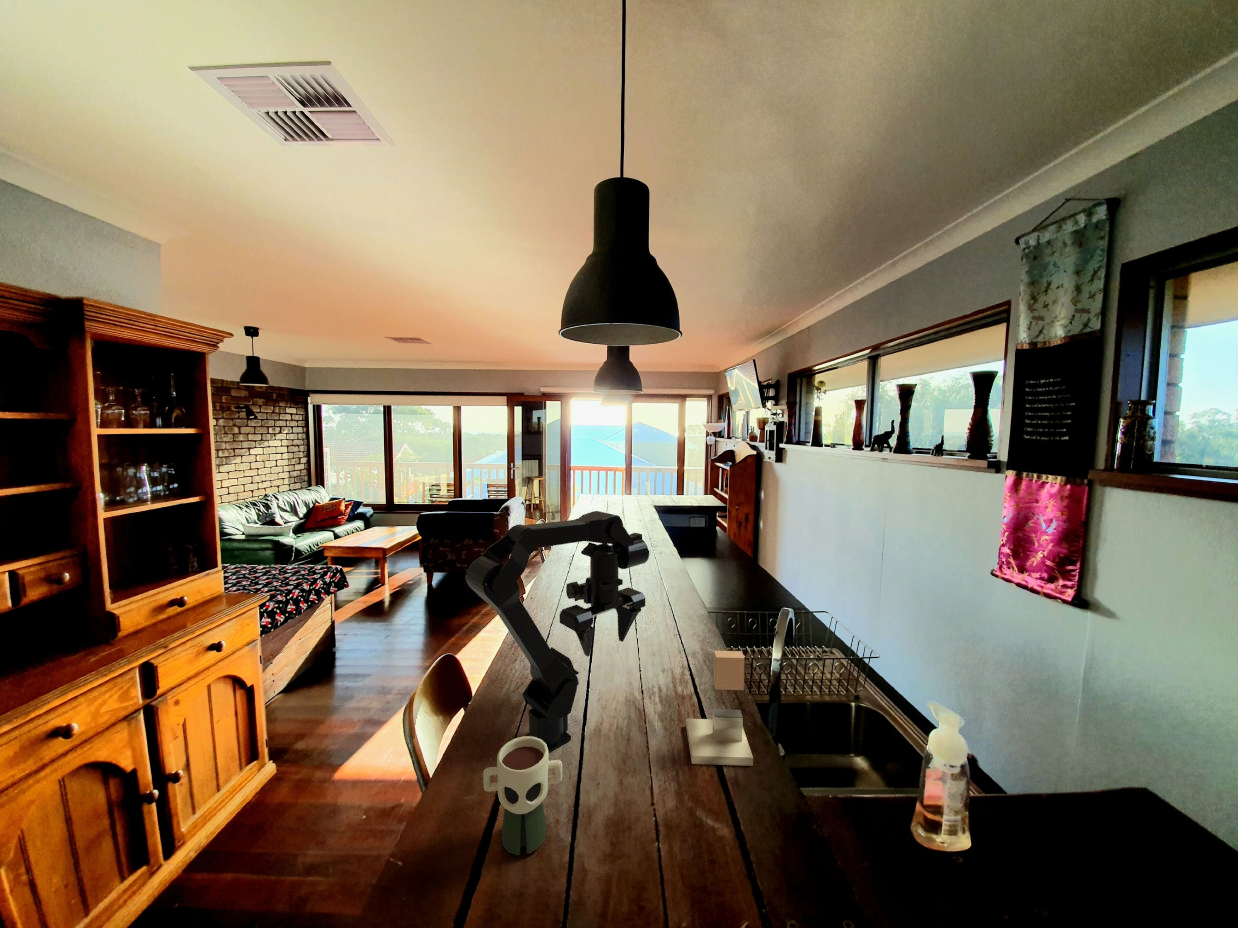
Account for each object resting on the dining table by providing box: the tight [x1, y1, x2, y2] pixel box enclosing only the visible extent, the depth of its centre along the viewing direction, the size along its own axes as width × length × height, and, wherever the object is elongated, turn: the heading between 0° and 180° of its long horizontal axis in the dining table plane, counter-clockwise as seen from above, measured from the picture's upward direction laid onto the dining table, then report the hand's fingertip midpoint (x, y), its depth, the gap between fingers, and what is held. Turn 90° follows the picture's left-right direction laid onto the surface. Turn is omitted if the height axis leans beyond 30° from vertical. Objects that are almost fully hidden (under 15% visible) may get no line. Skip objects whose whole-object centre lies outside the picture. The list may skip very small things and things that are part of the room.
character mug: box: [482, 735, 563, 856], centre depth 65 cm, size 11×7×13 cm, turn 99°
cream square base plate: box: [685, 708, 754, 767], centre depth 84 cm, size 10×10×6 cm
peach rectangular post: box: [713, 650, 745, 691], centre depth 83 cm, size 5×2×6 cm, turn 88°
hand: (604, 647), depth 94 cm, fingers open, 9 cm apart
